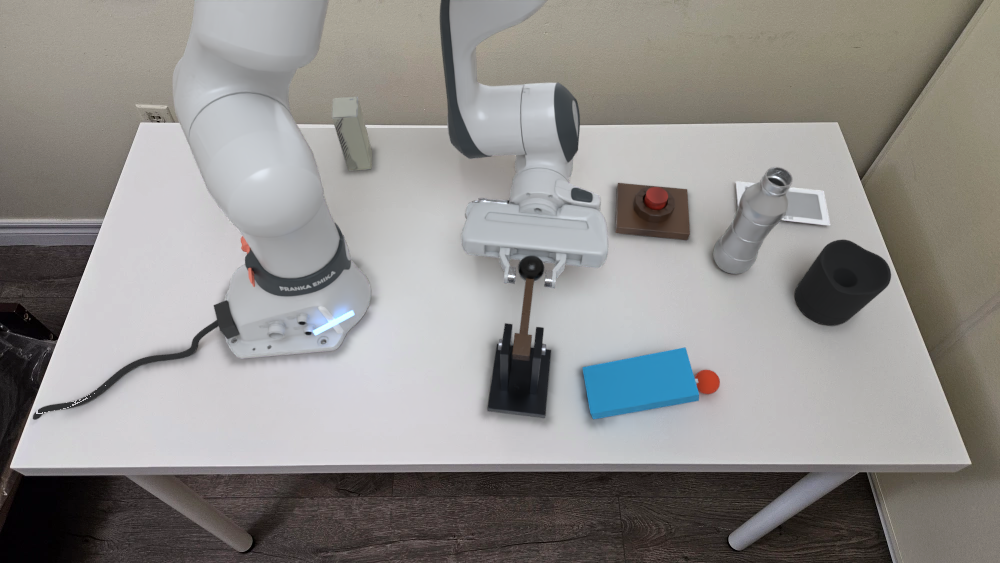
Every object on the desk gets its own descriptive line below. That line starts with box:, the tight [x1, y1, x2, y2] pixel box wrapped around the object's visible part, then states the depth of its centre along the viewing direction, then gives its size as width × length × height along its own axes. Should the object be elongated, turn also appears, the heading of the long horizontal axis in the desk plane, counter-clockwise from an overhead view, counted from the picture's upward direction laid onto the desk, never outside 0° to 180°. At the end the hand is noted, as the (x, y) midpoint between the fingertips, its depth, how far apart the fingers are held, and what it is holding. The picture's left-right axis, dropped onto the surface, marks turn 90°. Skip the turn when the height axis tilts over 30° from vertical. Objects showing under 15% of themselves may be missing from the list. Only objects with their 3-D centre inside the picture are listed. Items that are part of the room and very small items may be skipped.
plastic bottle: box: [712, 166, 794, 275], centre depth 85 cm, size 6×7×20 cm
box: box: [331, 96, 373, 172], centre depth 101 cm, size 5×4×13 cm
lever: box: [512, 255, 546, 361], centre depth 75 cm, size 14×4×4 cm, turn 173°
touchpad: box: [735, 180, 831, 227], centre depth 99 cm, size 8×15×2 cm, turn 81°
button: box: [644, 186, 668, 210], centre depth 96 cm, size 4×4×2 cm
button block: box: [614, 182, 691, 241], centre depth 98 cm, size 12×10×4 cm
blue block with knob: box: [582, 347, 721, 420], centre depth 80 cm, size 7×7×18 cm
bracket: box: [486, 322, 552, 419], centre depth 77 cm, size 10×8×13 cm
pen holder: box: [794, 239, 892, 326], centre depth 85 cm, size 9×9×10 cm
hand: (529, 283), depth 76 cm, fingers open, 4 cm apart
